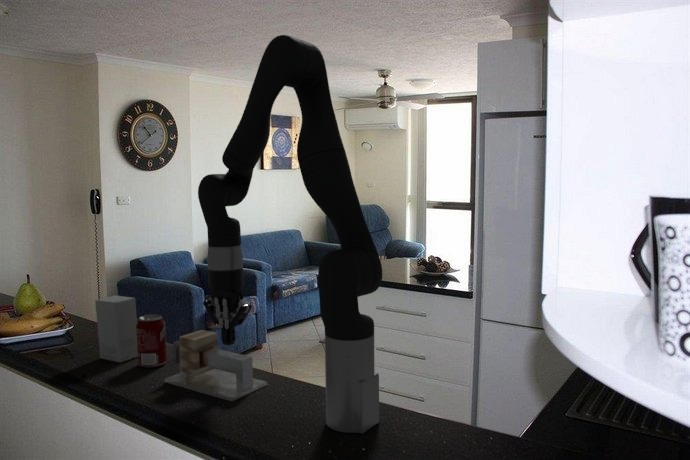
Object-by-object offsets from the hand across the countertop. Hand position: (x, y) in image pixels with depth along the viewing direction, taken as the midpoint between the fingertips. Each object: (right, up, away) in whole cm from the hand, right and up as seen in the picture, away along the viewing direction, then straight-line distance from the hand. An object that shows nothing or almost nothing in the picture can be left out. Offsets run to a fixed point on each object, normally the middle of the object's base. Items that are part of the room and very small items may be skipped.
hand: (228, 344), depth 131 cm
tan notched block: (-8, -7, +6) cm, 12 cm away
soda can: (-22, -9, +17) cm, 29 cm away
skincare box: (-33, -8, +23) cm, 40 cm away
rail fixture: (-4, -10, +3) cm, 11 cm away
